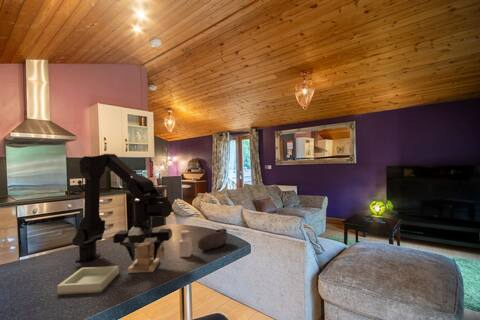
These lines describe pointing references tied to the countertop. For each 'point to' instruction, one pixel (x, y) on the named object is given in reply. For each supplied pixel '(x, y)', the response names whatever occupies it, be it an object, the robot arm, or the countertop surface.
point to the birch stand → (135, 268)
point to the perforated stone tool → (213, 239)
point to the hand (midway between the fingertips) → (144, 260)
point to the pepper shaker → (185, 244)
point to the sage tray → (88, 280)
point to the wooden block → (144, 254)
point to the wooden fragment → (160, 252)
